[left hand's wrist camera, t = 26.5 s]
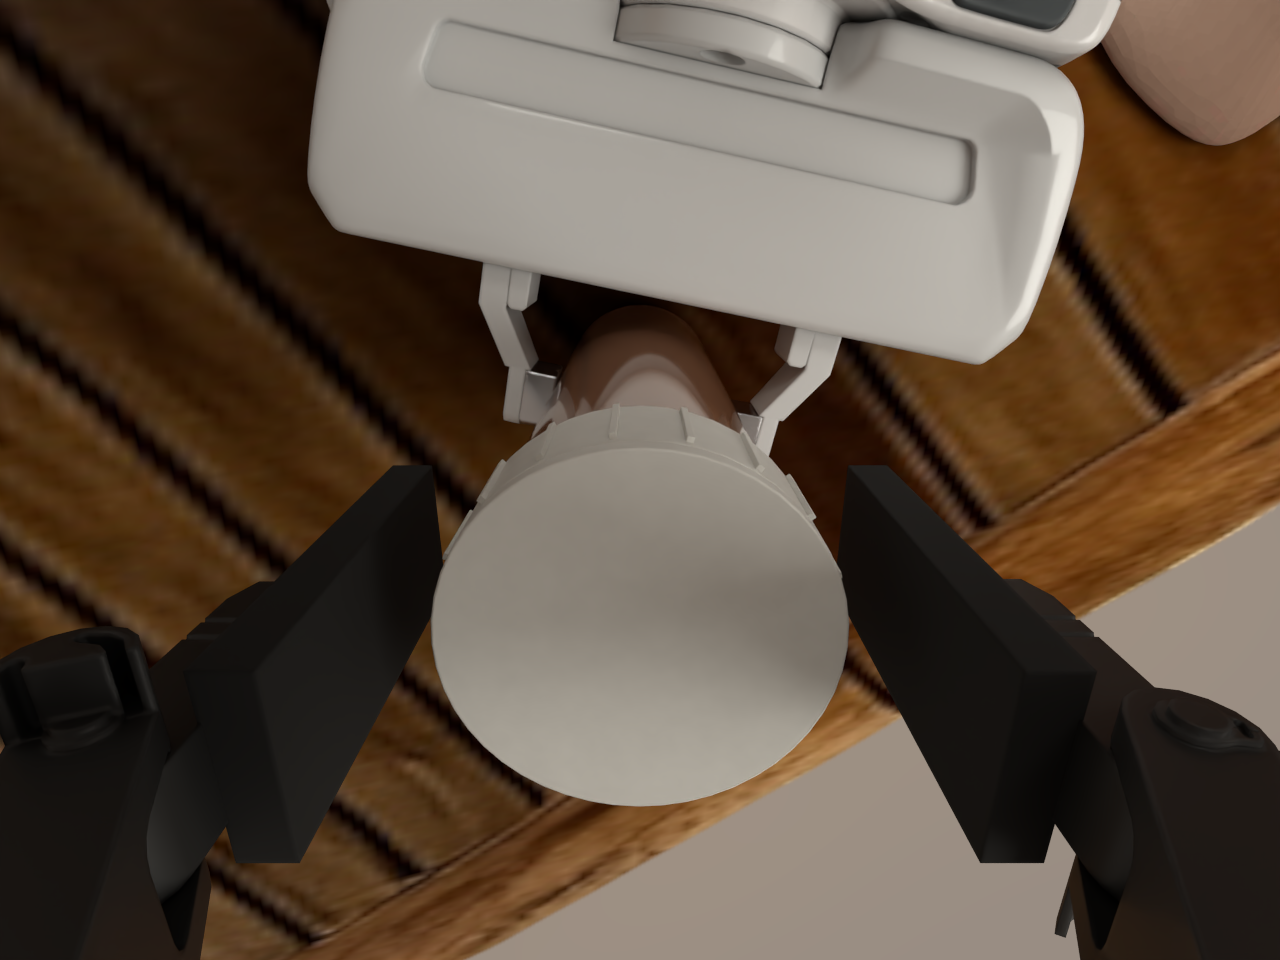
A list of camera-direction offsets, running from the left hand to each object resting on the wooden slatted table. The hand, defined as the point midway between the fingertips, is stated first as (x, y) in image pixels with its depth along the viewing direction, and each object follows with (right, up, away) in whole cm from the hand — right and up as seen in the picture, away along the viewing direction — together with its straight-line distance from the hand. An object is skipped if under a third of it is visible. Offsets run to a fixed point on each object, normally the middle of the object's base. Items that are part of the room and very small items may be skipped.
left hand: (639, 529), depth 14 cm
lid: (0, -1, -3) cm, 4 cm away
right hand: (0, +2, +8) cm, 9 cm away
